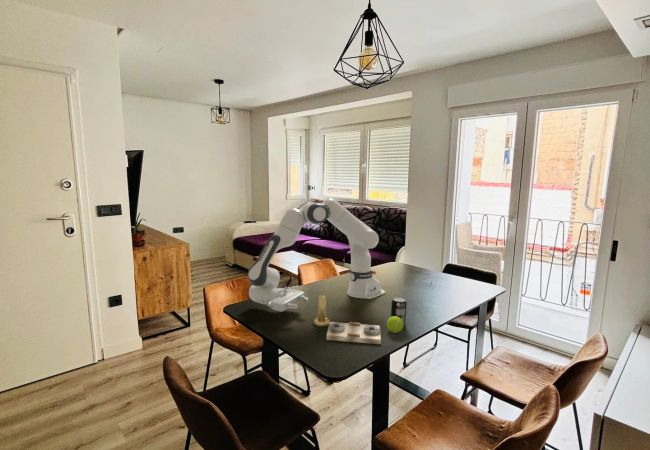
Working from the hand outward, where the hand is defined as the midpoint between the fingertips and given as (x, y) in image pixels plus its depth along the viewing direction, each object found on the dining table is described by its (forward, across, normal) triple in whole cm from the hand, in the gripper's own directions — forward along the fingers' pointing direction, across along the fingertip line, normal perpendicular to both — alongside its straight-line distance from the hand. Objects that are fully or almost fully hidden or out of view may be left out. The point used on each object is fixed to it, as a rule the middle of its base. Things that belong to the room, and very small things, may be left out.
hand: (302, 303), depth 159 cm
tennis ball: (+42, +9, +8) cm, 43 cm away
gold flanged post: (+10, 0, +7) cm, 13 cm away
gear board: (+27, -3, +7) cm, 28 cm away
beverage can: (+40, +17, +8) cm, 45 cm away
